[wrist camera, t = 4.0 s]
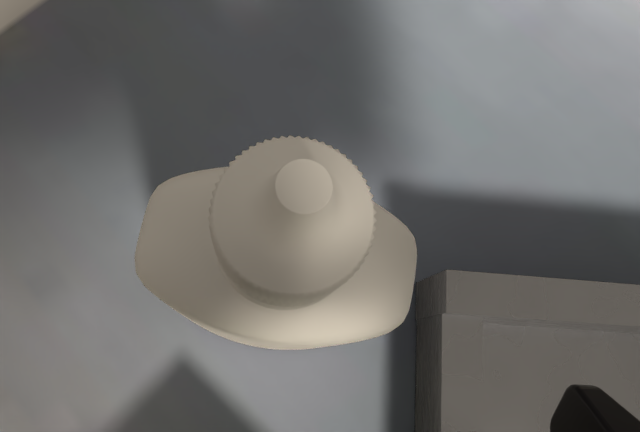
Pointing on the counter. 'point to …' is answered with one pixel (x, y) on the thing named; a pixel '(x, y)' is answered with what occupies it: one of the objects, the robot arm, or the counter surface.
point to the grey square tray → (520, 348)
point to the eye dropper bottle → (278, 249)
